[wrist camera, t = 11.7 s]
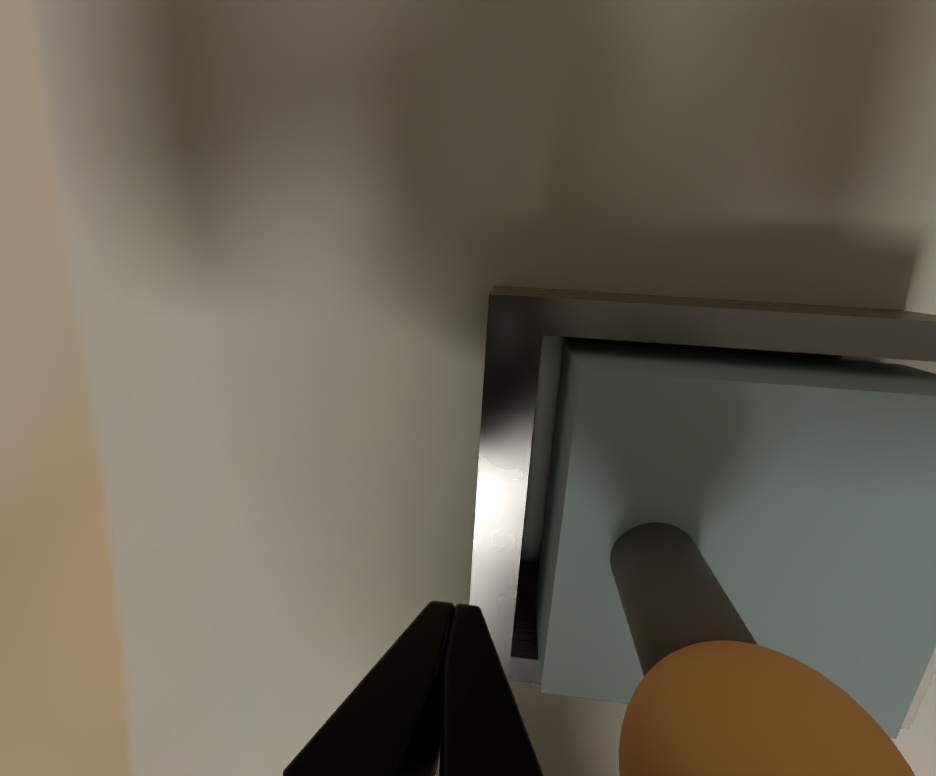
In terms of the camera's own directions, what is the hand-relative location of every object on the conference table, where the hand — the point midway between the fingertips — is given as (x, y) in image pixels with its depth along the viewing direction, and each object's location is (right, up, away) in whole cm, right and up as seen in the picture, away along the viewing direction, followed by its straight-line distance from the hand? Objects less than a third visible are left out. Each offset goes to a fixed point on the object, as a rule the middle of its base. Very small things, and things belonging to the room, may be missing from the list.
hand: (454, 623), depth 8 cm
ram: (+7, +1, +5) cm, 8 cm away
